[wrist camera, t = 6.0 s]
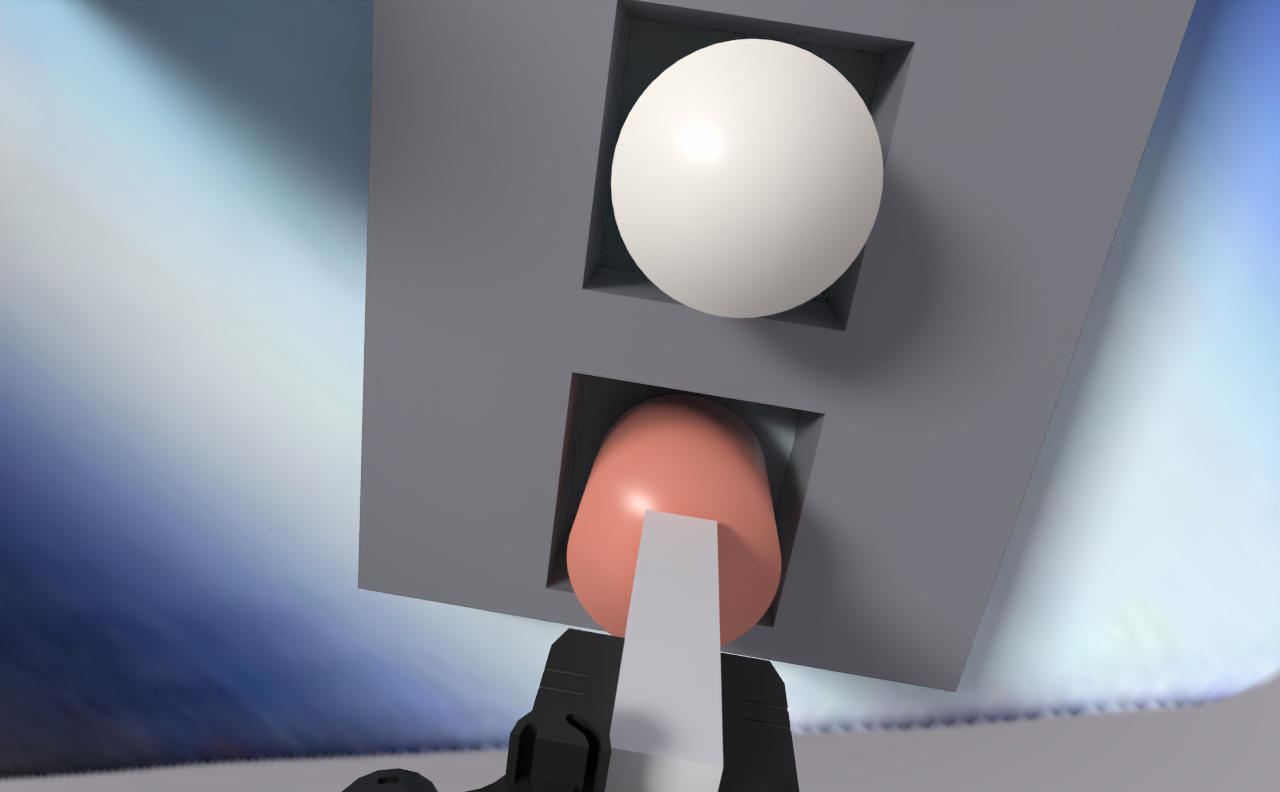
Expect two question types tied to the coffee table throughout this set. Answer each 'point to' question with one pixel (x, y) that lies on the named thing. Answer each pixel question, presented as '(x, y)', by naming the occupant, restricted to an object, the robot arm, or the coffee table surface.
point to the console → (742, 347)
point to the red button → (676, 508)
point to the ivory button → (747, 178)
